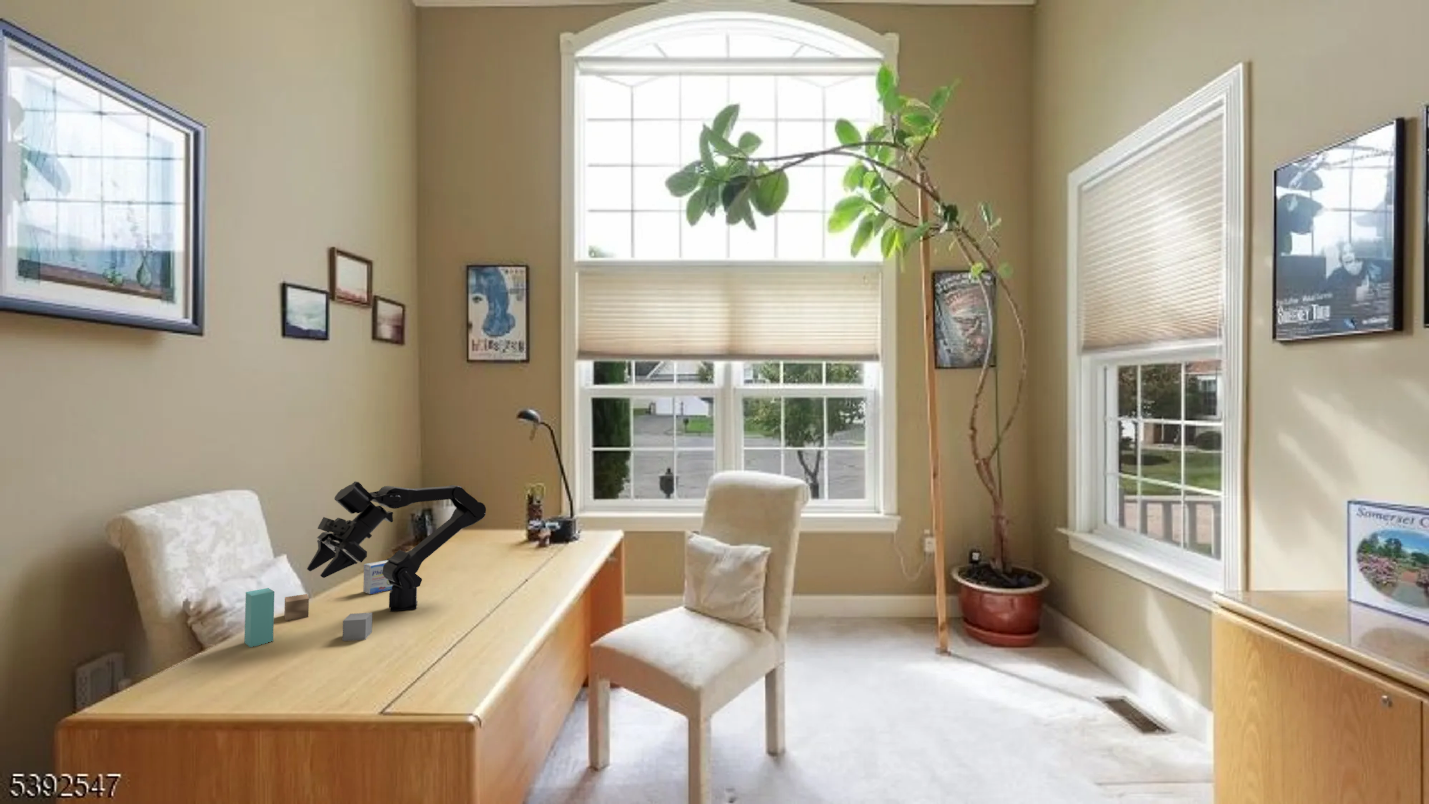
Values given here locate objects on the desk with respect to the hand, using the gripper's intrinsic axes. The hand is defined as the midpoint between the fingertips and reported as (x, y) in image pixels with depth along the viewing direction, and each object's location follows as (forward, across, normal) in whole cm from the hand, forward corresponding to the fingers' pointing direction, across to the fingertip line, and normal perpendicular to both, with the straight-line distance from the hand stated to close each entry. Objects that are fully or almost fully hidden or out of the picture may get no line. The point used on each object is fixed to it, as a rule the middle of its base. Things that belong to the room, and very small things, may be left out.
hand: (314, 573), depth 155 cm
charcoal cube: (+6, +13, +14) cm, 20 cm away
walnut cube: (+10, -14, +10) cm, 20 cm away
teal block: (+18, 0, +2) cm, 18 cm away
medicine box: (-8, -22, +28) cm, 36 cm away
